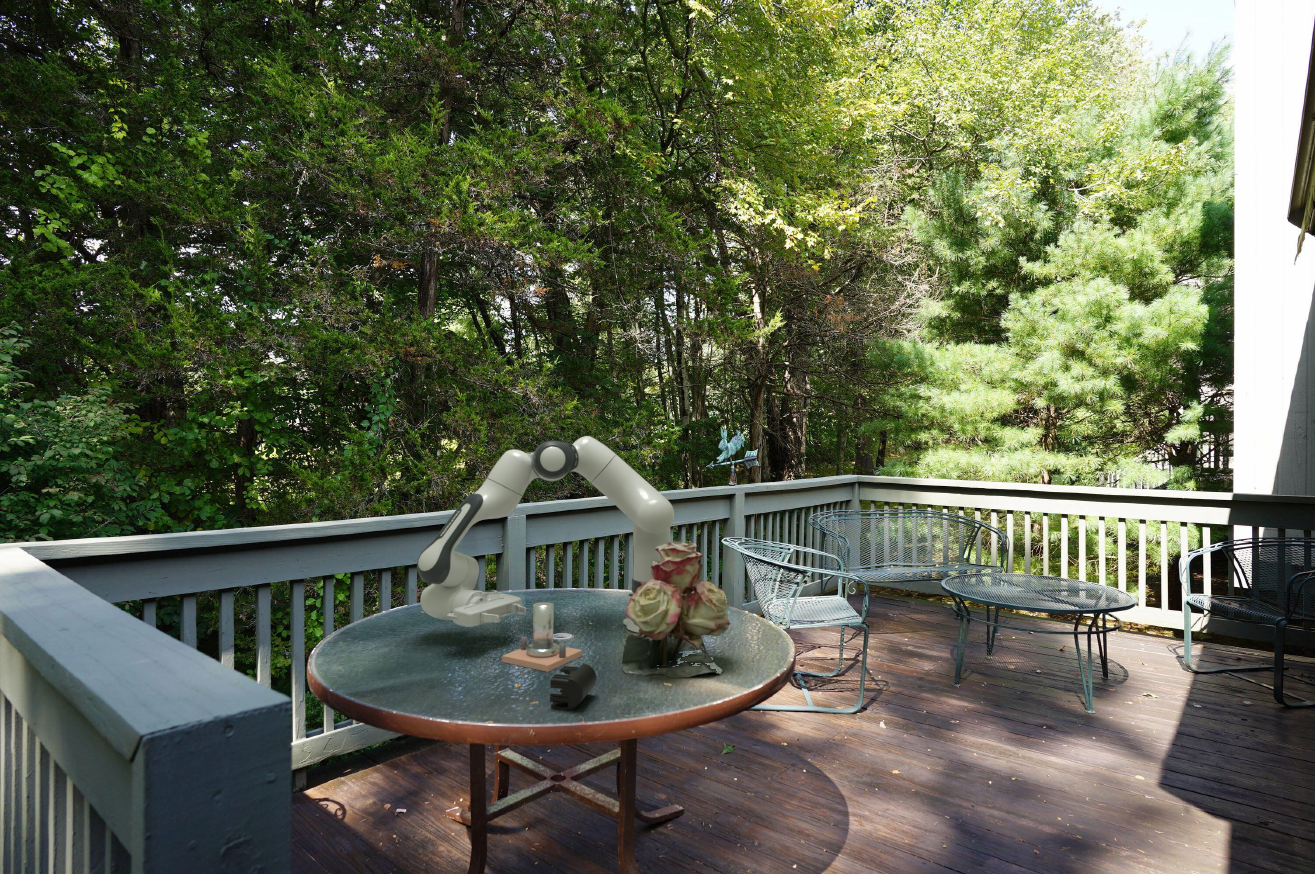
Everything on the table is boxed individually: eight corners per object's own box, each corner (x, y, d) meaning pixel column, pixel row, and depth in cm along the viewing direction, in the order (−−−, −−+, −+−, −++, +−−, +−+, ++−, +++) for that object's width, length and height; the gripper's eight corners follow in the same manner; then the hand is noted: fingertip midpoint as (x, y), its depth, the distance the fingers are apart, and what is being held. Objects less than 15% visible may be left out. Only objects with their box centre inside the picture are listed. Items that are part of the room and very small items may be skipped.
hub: (540, 646, 183) (540, 599, 183) (565, 651, 179) (566, 603, 179) (519, 654, 176) (520, 605, 176) (545, 659, 172) (546, 609, 172)
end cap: (582, 712, 144) (582, 679, 144) (549, 709, 145) (549, 676, 145) (596, 695, 154) (597, 663, 154) (565, 692, 155) (565, 661, 155)
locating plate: (538, 647, 187) (538, 630, 187) (582, 655, 180) (582, 638, 180) (502, 661, 175) (502, 643, 175) (547, 671, 168) (548, 652, 168)
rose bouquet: (617, 680, 163) (619, 549, 163) (633, 643, 192) (634, 531, 192) (730, 685, 161) (732, 553, 160) (728, 647, 190) (730, 534, 190)
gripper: (442, 603, 180) (484, 610, 173) (497, 588, 197) (537, 595, 191) (441, 628, 180) (483, 636, 173) (497, 611, 198) (536, 618, 191)
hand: (512, 614), depth 182 cm, fingers open, 8 cm apart
